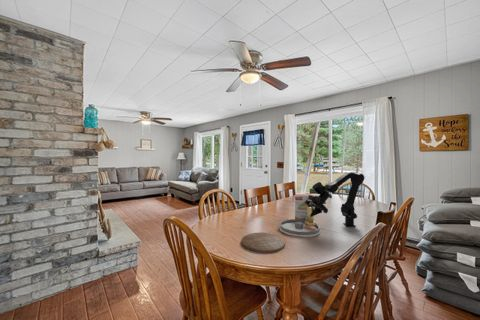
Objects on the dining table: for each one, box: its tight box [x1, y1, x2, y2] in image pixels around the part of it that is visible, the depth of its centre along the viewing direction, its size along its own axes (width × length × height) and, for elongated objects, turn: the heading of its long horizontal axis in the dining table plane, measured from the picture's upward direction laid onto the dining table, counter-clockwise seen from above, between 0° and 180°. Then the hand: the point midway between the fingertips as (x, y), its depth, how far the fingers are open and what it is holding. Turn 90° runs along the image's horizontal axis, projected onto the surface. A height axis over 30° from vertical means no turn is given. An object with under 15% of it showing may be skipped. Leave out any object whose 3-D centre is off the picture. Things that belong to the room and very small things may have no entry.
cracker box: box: [294, 193, 315, 221], centre depth 159 cm, size 14×6×21 cm, turn 73°
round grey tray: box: [278, 218, 321, 238], centre depth 141 cm, size 27×27×4 cm
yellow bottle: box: [305, 207, 317, 227], centre depth 140 cm, size 7×7×12 cm
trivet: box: [241, 232, 286, 254], centre depth 118 cm, size 25×25×2 cm
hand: (308, 215), depth 140 cm, fingers closed on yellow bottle, 4 cm apart
